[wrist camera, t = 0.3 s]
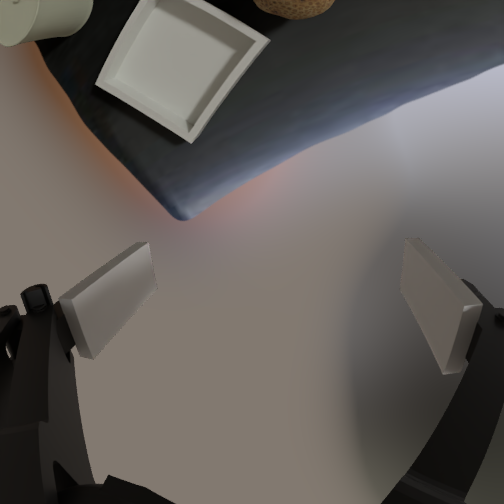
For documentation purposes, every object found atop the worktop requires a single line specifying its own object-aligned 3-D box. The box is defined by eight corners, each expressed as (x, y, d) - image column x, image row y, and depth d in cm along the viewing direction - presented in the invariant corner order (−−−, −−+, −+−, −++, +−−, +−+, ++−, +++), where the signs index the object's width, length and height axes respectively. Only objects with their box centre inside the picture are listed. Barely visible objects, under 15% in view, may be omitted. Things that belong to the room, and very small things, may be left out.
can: (101, -19, 25) (44, -25, 15) (84, 38, 30) (27, 48, 21) (55, -17, 23) (-1, -16, 14) (42, 35, 29) (-14, 48, 20)
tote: (166, -18, 26) (155, -22, 23) (270, 40, 30) (268, 39, 27) (108, 79, 34) (95, 84, 32) (199, 135, 39) (191, 143, 36)
